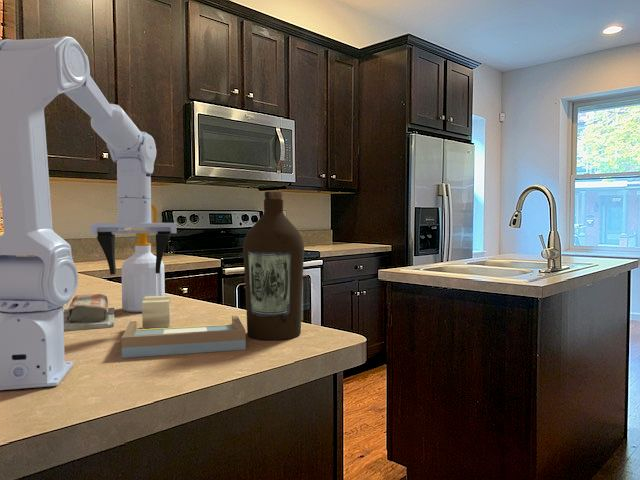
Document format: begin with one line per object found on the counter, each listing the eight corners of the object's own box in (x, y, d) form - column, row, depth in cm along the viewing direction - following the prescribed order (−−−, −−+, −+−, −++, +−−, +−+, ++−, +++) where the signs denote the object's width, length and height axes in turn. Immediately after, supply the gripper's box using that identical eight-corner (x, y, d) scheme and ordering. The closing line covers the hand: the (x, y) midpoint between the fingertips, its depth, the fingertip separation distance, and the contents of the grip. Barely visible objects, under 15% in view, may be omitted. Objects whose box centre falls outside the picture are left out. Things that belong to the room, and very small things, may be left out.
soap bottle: (121, 307, 114) (119, 200, 113) (162, 304, 118) (160, 200, 117) (123, 314, 106) (121, 198, 105) (167, 310, 110) (166, 199, 109)
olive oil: (251, 327, 94) (250, 193, 92) (307, 328, 92) (307, 193, 91) (236, 340, 83) (235, 190, 82) (299, 342, 82) (299, 190, 81)
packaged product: (63, 293, 106) (114, 291, 110) (64, 316, 106) (114, 313, 110) (54, 307, 90) (114, 304, 93) (54, 334, 90) (114, 329, 94)
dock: (245, 349, 77) (245, 330, 77) (121, 357, 73) (121, 337, 73) (237, 332, 89) (237, 315, 89) (130, 338, 84) (130, 321, 84)
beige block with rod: (169, 333, 88) (169, 301, 88) (142, 334, 87) (142, 302, 87) (170, 324, 96) (170, 294, 96) (146, 325, 95) (145, 295, 95)
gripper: (176, 199, 96) (177, 270, 97) (94, 199, 92) (95, 272, 93) (176, 198, 89) (177, 274, 90) (87, 197, 85) (89, 276, 86)
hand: (135, 273), depth 91 cm, fingers open, 7 cm apart
